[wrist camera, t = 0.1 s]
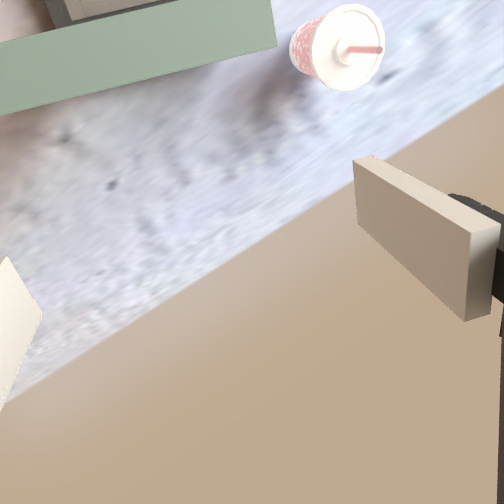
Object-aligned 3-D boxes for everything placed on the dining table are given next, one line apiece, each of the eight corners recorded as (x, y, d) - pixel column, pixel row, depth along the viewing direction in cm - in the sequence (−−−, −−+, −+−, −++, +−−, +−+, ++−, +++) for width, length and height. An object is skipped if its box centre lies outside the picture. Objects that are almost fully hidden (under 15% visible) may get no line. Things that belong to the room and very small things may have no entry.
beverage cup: (278, 79, 39) (329, 95, 27) (285, 8, 37) (346, -10, 24) (335, 84, 41) (408, 101, 28) (346, 15, 38) (432, 1, 26)
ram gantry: (45, 50, 34) (-59, 56, 18) (220, 8, 35) (267, -21, 19) (60, 86, 36) (-23, 121, 20) (227, 45, 37) (277, 46, 21)
